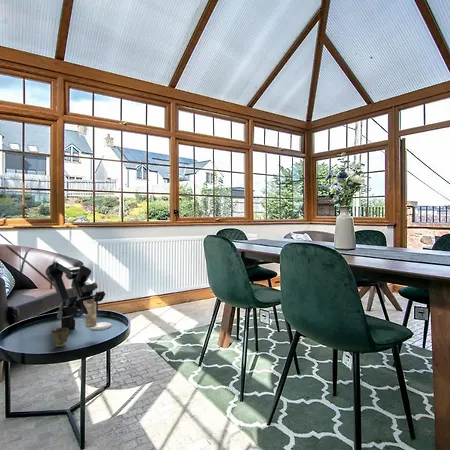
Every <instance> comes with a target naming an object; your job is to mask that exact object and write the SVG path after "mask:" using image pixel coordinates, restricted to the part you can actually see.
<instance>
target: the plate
mask: <svg viewBox="0 0 450 450" xmlns="http://www.w3.org/2000/svg"><path fill="white" fill-rule="evenodd" d="M111 327H112V323H111V322H106V321H103V322H102V321H101V322H96V326H95V327H91V328H89V329H90V330H92V331H103V330H107V329H109V328H111Z"/></svg>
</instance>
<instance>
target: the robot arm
mask: <svg viewBox="0 0 450 450" xmlns="http://www.w3.org/2000/svg"><path fill="white" fill-rule="evenodd" d="M64 274H65V277H66V279H68V280H69V281H70V280H72V282H71V287H73V289H74V290H75V295H73V296H69V293H68V291H67V288H66V285H65V283H64V280H63V275H64ZM45 275H46V276H47V278H48V279H47V280H49V281H51V282H52V283H53V285H54V288H55V291H56V293H57V297H58V299H59V303H60V305H59V307H58V313H57V314H56V317H57V320H59V321H60V327H61V328H66V327H67V328H69V331H72V330H75V328H76V319H75V318H76V317H78V310H79V311H80V312H82V313H83V314H86V315H87V314H88V312H87V310H86V308H85V304H84V302H87V300H89V299H94V302H96V313H98V312H99V303H98V302H102V301H103V299H105V296H106V292H105V291H104V290H102V291H101V290H100V291H96V292H95V294H94V293H93V292H94V291H95V290H97V289H98V287H99V286H98V284H97V283H96V282H92V283H91V284H90V283H89V284H86V282H87V281H88V280H89V278H90V276H91V275H92V270H91V269H90V268H89V267H87V266H86V265H80V267H79V266H72V265H70V264H68V263H67V262H65V260H55V261H54V262H52V264H50V265H48V266H47V267H46V269H45Z"/></svg>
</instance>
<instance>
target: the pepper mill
mask: <svg viewBox="0 0 450 450" xmlns="http://www.w3.org/2000/svg"><path fill="white" fill-rule="evenodd" d="M84 306H85V308H86V310H87V312H88V314H87V315H86V314H85V313H84V314H85V328H88V329H90V328H91V327H95V326H96V323H97V312H96V302H94V299H89V300H87V301H85V304H84Z"/></svg>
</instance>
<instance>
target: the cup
mask: <svg viewBox="0 0 450 450" xmlns="http://www.w3.org/2000/svg"><path fill="white" fill-rule="evenodd" d="M69 332H70V330H69V328H67V327H66V328H61V326H60V327H59V328H57V327H56V329H51V337H52V341H53V343H54V344H55V345H56V348H63V347H65V346H66V345H65V344H66V343H67V341H68V339H69Z"/></svg>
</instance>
